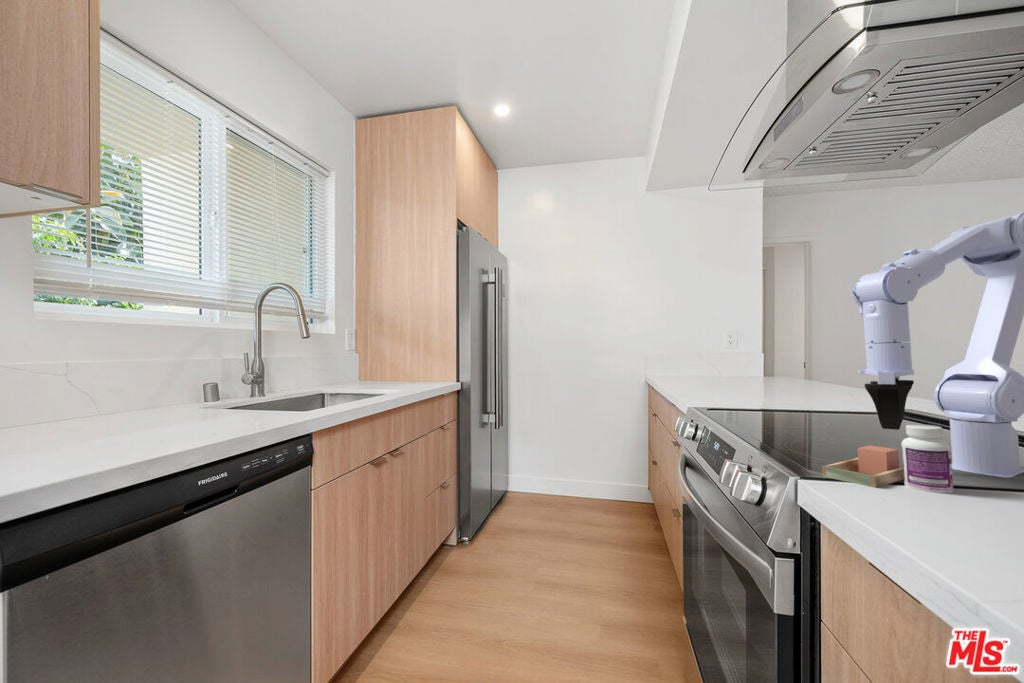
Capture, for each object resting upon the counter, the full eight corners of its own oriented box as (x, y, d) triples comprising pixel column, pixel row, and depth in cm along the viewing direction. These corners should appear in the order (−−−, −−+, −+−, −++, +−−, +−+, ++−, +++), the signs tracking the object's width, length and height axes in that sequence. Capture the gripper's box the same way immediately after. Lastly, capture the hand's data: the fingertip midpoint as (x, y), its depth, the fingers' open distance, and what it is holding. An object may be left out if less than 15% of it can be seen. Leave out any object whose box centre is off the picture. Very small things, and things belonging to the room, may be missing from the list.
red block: (871, 468, 76) (869, 445, 76) (899, 473, 72) (898, 449, 72) (858, 471, 74) (857, 448, 74) (887, 477, 70) (886, 452, 70)
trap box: (872, 466, 79) (872, 454, 79) (925, 475, 73) (924, 462, 73) (822, 479, 72) (821, 466, 72) (875, 491, 65) (875, 476, 65)
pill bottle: (964, 497, 62) (959, 429, 62) (920, 496, 63) (915, 429, 63) (935, 485, 67) (931, 422, 67) (895, 485, 68) (891, 423, 68)
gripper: (861, 343, 80) (865, 418, 80) (850, 344, 70) (856, 429, 69) (913, 342, 75) (918, 421, 75) (910, 342, 65) (916, 434, 64)
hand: (892, 425), depth 72 cm, fingers open, 7 cm apart
